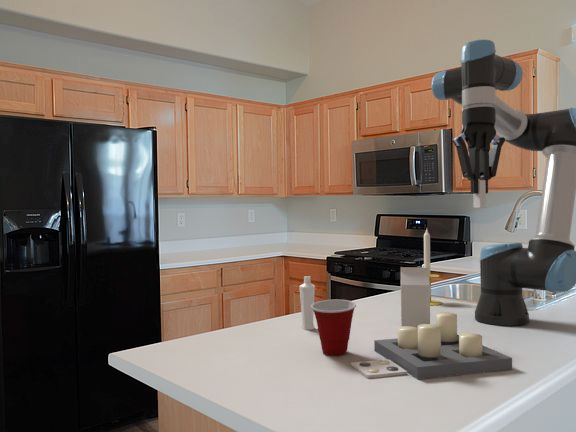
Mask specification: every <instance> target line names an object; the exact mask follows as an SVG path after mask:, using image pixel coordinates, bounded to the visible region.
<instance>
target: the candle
mask: <svg viewBox="0 0 576 432" xmlns="http://www.w3.org/2000/svg"><path fill="white" fill-rule="evenodd" d="M423 268H429V282H430V307H434V305H436V306H440V305H442V304H443V302H442V301H441V300H436V299H432V279H438V278H440V275H439V274H433V273H431V235H430V233H429V230H428V228H426V230H425V232H424V234H423Z"/></svg>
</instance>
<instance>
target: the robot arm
mask: <svg viewBox="0 0 576 432" xmlns="http://www.w3.org/2000/svg"><path fill="white" fill-rule="evenodd" d="M496 52H497V49H496V46H495V42H494V41H492V40H490V39H476V40H472V41H469V42H467V43H465V44H463V46H462V48H461V55H460V56H461V58H460V65H461V66H460V67H455V68H450V69H446V70H443V71H440V72H437V73H436V74H434V75H433V77H432V79H431V85H430V87H431V92H432V95H433V96H434V97H435V99H436V100H438V101H439V100H440V101H443V100H444V101H447V100H453V101H454V102H456V103H457V104H458V105H460V106H461V107H462V109H463V110H462V111H461V125H462V129H461V132H460V134H459V135H458V136H457V137H453V138H452V140H451V141H452V143H453V145H454V146H455V148H456V152H457V157H458V161H459V165H460V170H461V174H462V177H463V178H465V179H467V180H468V181H469V182H470V194H471V195H472V194H473V195H472V196H473V199H472V201H473V202H472V203H473V208H474V209H475V208H477V209H485V208H486V207H487V205H486V203H487V199H486V195H487V194H489V193H488V192H489V180H491V179H492V178H495V177H496V176H497V171H498V166H499V163H500V162H499V161H500V156H501V153H502V147H503V145H504V144H505V142H506V143H508V144H510V145H512V146H514V147H517V148H520V149H523V150H526V151H530V152H542V155H543V156H544V157H545V158H546V162H545V171H544V177H543V185H542V190H541V198H540V203H539V210H538V211H539V212H538V218H537V225H536V231H535V236H533V237H532V238H531V237H530V239H529V241H528V245H527V247H523V243H522V242H511V243H498V244H490V245H485V246H483V247H481V249H480V255H479V256H480V257H479V266H480V269H479V271H480V272H479V273H480V295H479V298H478V301H477V304H476V307H475V309H474V319H475V320H476V321H477V322H479V323H483V324H488V325H493V326H494V325H495V326H514V327H515V326H523V325H528V324H529V323H530V314H529V311H528V308H527V305H526V302H525V299H524V297H523V295H524V294H523V289H528V290H537V291H538V290H539V291H546V292H549V293H554V292H555V293H556V292H557V293H566V292H568V291H571V290H572V289H573V287H575V285H576V250H575V249H576V248H575V244H574V243H573V242H572V241H571V240H570V236H571V232H572V231H571V230H572V229H571V228H572V222H573V215H574V210H575V209H574V207H575V199H576V107H569V108H565V109H560V110H559V109H558V110H551V111H545V112H536V113H524V111H522V110H519V109H518V110H517V109H514V108H512V106H510V105H509V104H507V103H506V102H505V101H503V100H502V99H501V98H499V97H498V96H497V95H496V90H498V91H501V92H506V91H512V90H515V89H516V88H517V87H518V86H519V84H521V81H522V80H523V75H524V71H523V68H522V66H521V65H520V64H519V63H518V62H516V61H514V60H513V59H511V58H507V57H503V56H500V55H497V54H496Z"/></svg>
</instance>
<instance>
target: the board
mask: <svg viewBox="0 0 576 432" xmlns="http://www.w3.org/2000/svg"><path fill="white" fill-rule="evenodd" d="M373 346H374V352H376V353H377V354H379V355H380V356H382V357H383V358H384V359H385V360H387V359H389V360H391V361H392V362H394V363H395V364H397V365H398V366H400V367H401V368H403V369H404V370H406V371H407V374H409V375H410V376H411V377H413V378H414V379H416V380H425V379H427V380H428V379H435V378H445V377H454V376H455V377H456V376H463V375H473V374H482V373H483V372H485V373H492V372H501V371H502V372H503V371H511V370H513V357H511V356H508V355H507V354H504V353H502V352H499V351H498V350H495V349H492V348H489V347H488V346H485V345H483V344H482V356H478V357H467V358H466V357H464V356H462V355H460V354H459V334H457V341H454V342H443V341H441V356H439V357H423V356H420V355H419V354H418V348H409V349H401V348H400V347H398V337H397V338H388V339H387V338H385V339H375V340H374V345H373Z"/></svg>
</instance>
